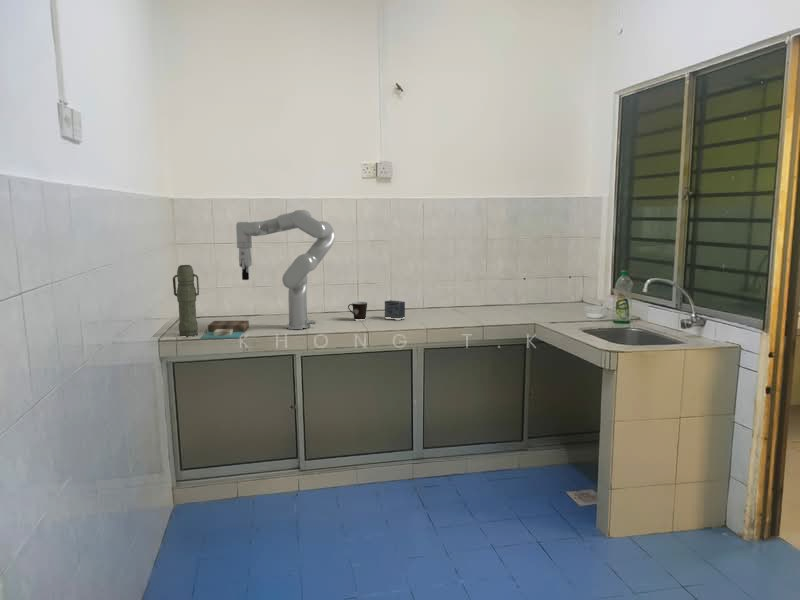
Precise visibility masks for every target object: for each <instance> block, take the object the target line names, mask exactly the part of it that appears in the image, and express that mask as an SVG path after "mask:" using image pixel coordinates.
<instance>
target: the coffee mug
mask: <svg viewBox="0 0 800 600" xmlns="http://www.w3.org/2000/svg"><path fill="white" fill-rule="evenodd" d="M350 306H351V307H352V310H351V308H350ZM347 309H348V311H350V313H351V314H353V320H354V319H365V318H366V317H367V309H368V302H367V301H353V302H352V303H350V304H348V306H347ZM365 320H366V319H365Z"/></svg>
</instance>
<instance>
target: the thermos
mask: <svg viewBox="0 0 800 600" xmlns="http://www.w3.org/2000/svg"><path fill="white" fill-rule="evenodd" d="M176 278H177V283H176ZM195 278H196V286H195ZM172 284H173V285H172V288H173V295H174V296H175V297H177V298H176V299H177V303H178V314H179V316H178V319H179V322H178V332H179V337H181V336H186V337H185V338H189V337H188V336H192V337H195V335H196V336H198V335H199V333H198V332H199V331H198V330H199V326H198V320H197V309H196V308H197V307H196V304H197V303H196V301H197V297H198V296H199V295H200V288H199V276H198V275H197V274H195V273H194V269H193V267H192V265H190V264H180V265H178V268H177V271H176V274H175V275H174V276H173V277H172ZM176 285H177V286H176Z"/></svg>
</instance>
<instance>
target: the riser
mask: <svg viewBox="0 0 800 600" xmlns="http://www.w3.org/2000/svg"><path fill="white" fill-rule="evenodd" d="M249 325H250V321H249V320H212V322H210V323H209V324H207V332H214V331H215V330H216V329H233V332H244V333H246V331H248V329H250V326H249Z"/></svg>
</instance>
